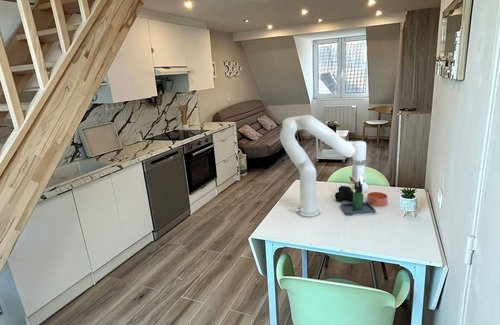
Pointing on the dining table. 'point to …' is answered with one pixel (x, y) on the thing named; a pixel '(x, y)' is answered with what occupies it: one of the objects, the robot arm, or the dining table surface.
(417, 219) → the dining table surface
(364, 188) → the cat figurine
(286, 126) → the robot arm
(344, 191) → the film camera
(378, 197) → the bowl
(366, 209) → the tray
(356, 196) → the bottle
